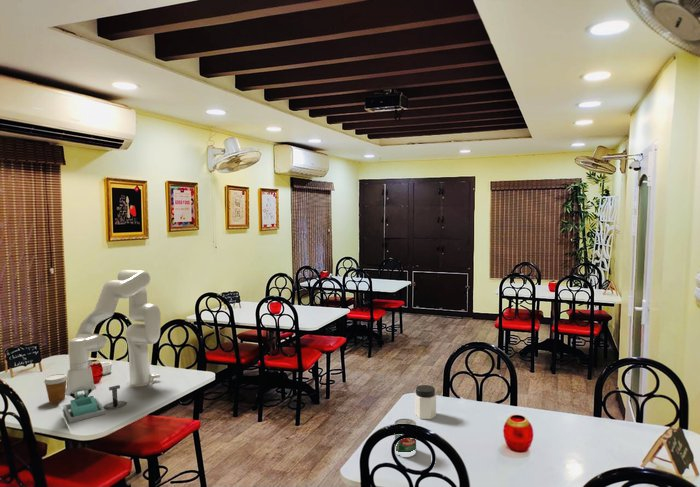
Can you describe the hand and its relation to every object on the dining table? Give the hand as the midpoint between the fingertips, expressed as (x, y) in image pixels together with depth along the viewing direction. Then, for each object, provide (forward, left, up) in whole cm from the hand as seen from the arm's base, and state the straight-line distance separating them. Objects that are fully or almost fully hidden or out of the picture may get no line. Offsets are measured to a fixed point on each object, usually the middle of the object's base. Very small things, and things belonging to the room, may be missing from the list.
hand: (81, 405), depth 222 cm
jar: (-116, +101, -3) cm, 154 cm away
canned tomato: (-87, +119, -3) cm, 147 cm away
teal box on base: (0, +4, 0) cm, 4 cm away
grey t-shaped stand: (-13, +6, -3) cm, 14 cm away
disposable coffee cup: (+7, -20, -3) cm, 21 cm away
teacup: (-18, -48, -3) cm, 51 cm away
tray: (0, +5, -3) cm, 5 cm away
